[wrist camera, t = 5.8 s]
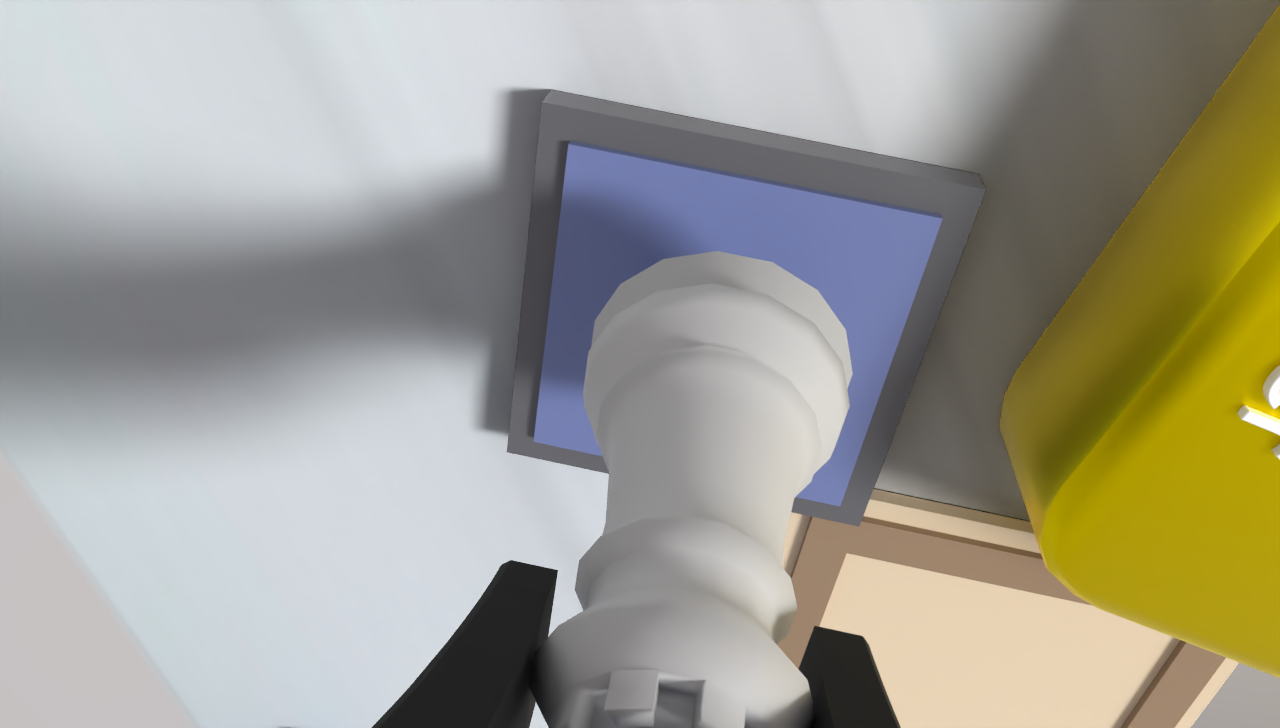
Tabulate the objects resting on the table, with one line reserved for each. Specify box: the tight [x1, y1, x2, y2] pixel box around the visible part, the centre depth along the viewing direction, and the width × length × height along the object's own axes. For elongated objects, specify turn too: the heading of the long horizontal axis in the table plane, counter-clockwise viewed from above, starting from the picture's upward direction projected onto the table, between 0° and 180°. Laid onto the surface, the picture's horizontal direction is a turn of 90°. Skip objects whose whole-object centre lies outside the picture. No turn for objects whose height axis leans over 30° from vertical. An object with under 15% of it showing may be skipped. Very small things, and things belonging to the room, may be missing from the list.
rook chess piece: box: [529, 251, 853, 728], centre depth 13 cm, size 4×4×8 cm
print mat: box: [777, 489, 1239, 728], centre depth 24 cm, size 11×11×1 cm
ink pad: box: [507, 90, 986, 527], centre depth 19 cm, size 8×8×1 cm
